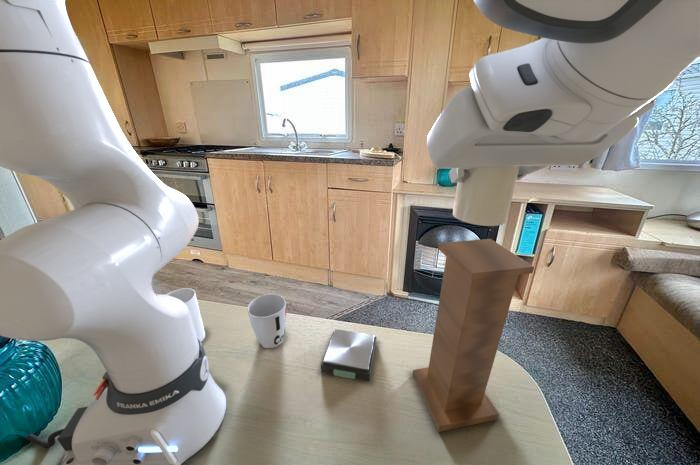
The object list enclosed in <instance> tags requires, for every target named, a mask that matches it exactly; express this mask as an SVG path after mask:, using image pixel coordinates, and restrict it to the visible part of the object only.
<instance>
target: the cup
mask: <svg viewBox="0 0 700 465" xmlns="http://www.w3.org/2000/svg"><path fill="white" fill-rule="evenodd" d="M246 310H247V314H248V319H249V322H250V325H251V328H252V330H253V333H254V336H255V337H256V339H257V340H258V342H259V344H260V345H261V346H262V347H263V348H265V349H274V348H276V347H278V346H279V345H281V344H282V343H283V342H284V336H285V333H286V328H287V301H286V298H284V296H282V295H280V294H276V293H266V294H261V295H259V296H257V297H254V298H253V299H252V300H251V301H250V302H249V303H248V304H247V308H246Z"/></svg>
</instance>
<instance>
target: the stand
mask: <svg viewBox="0 0 700 465" xmlns="http://www.w3.org/2000/svg"><path fill="white" fill-rule="evenodd" d="M437 249H438V250H439V251H440V253H442V254H443V255H444V256H445V262H444V269H443V275H442V281H441V287H440V294H439V299H438V306H437V311H436V318H435V326H434V330H433V337H432V345H431V349H430V356H429V362H428V367H422V368H417V369H413V370H412V377H413V380H414V382H415V384H416V386H417V388H418V390H419V393H420V395H421V397H422V400H423V401H424V403H425V406H426V409H427V411H428V412H429V414H430V417H431V419H432V421H433V423H434V426H435V428H436V430H437V433H440V432H444V431H445V432H446V431H450V430H454V429H458V428H464V427H468V426H473V425H477V424H482V423H487V422H492V421H496V420H498V419H499V415H500V413H499V411H498V410H497V409H496V407H495V405H493V403H492V402H491V400H490V398H489V397H488V396H487V394H486V389H487V386H488V383H489V379H490V377H491V372H492V369H493V365H494V361H495V358H496V356H497V352H498V350H499V349H498V348H499V345H500V342H501V337H502V334H503V331H504V327H505V324H506V320H507V317H508V314H509V310H510V306H511V304H512V299H513V296H514V293H515V289H516V287H517V282H518V279H519V276H520V275H528V274H533V272H534V269H535V266H534V265H532V264H531V263H529V262H528V261H526V260H524V259H523V258H521V257H520V256H518V255H517V254H515V253H513V252H512V251H510V250H509V249H507V248H505V247H504V246H502V245H501V244H499V243H498V242H496V241H495V240H493V239H492V238H484V239H483V238H482V239H472V240H471V239H470V240H461V241H448V242H438V246H437Z"/></svg>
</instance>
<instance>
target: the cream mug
mask: <svg viewBox="0 0 700 465" xmlns="http://www.w3.org/2000/svg"><path fill="white" fill-rule="evenodd" d="M519 168H520V166H513V167H478V168H470V169H468V170H467V171H468V173H469V177H468V178H467V179H466V180H465V181H464V182H462V183H456V190H455V195H454V202H453V208H452V216H453V217H454V218H455V219H457V220H458V221H461V222H464V223H467V224H470V225H475V226H482V227H496V226H503V225H504V224H505V223H506V222H507V219H508V216H509V213H510V212H509V211H510V207H511V204H512V200H513V196H514V192H515V188H516V184H517V181H516V180H517V176H518V172H519Z"/></svg>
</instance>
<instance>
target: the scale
mask: <svg viewBox="0 0 700 465" xmlns="http://www.w3.org/2000/svg"><path fill="white" fill-rule="evenodd" d="M376 346H377V336H375V335H374V334H369V333H364V332H358V331H352V330H345V329H339V328H334V329H333V331H332V334H331V337H330V338H329V341H328V345H327V347H326V349H325V352H324V355H323V358H322V361H321V362H320V373H323V374H324V373H325V374H330V375H333V376H335V377H341V378H346V379H352V380H361V381H365V382H370V381H371V376H372V369H373V363H374V359H375V358H374V357H375V352H376Z"/></svg>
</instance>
